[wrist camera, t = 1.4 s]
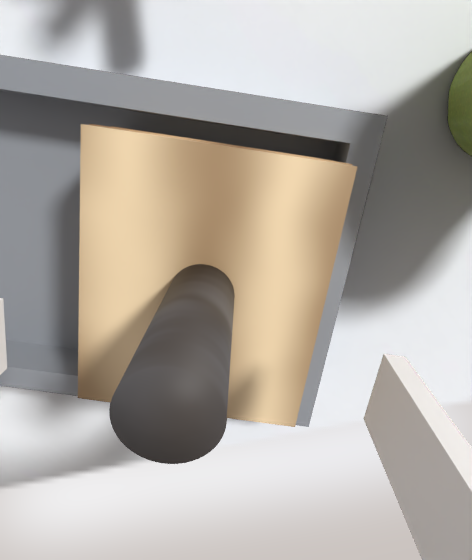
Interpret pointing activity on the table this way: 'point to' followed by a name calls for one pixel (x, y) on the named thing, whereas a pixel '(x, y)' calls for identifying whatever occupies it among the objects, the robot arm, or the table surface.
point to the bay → (66, 192)
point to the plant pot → (461, 106)
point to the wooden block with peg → (200, 283)
